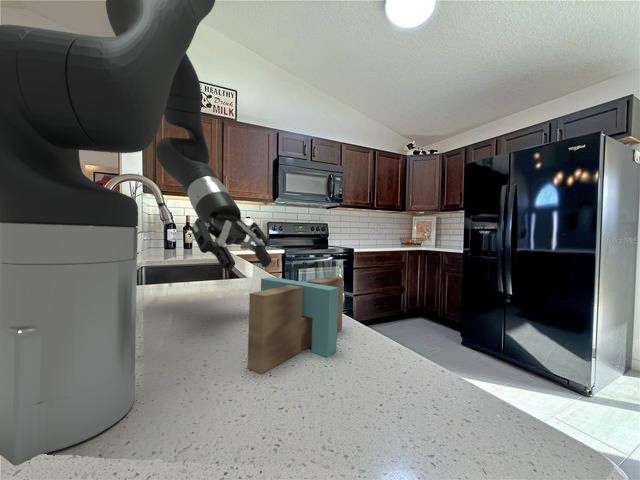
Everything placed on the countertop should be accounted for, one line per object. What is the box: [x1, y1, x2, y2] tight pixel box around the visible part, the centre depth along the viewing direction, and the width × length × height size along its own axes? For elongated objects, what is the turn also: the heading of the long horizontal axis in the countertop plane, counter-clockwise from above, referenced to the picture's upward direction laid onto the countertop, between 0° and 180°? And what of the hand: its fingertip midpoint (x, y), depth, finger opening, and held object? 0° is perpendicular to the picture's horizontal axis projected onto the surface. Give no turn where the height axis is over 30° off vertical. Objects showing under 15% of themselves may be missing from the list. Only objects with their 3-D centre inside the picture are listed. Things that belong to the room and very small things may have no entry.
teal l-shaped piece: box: [260, 276, 339, 358], centre depth 43 cm, size 14×2×10 cm, turn 56°
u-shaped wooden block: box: [247, 275, 344, 375], centre depth 42 cm, size 20×2×10 cm, turn 146°
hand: (251, 266), depth 49 cm, fingers open, 8 cm apart
